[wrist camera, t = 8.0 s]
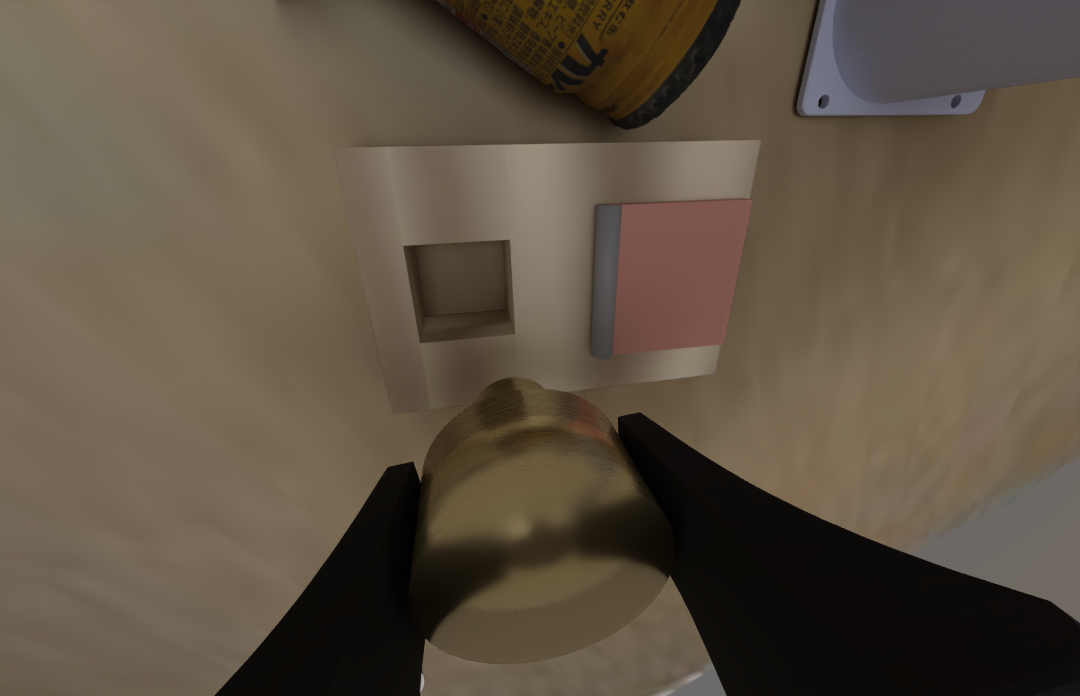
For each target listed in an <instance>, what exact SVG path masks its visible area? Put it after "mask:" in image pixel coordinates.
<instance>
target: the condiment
mask: <svg viewBox="0 0 1080 696" xmlns="http://www.w3.org/2000/svg"><path fill="white" fill-rule="evenodd" d="M435 1H437V2H438V3H439V4H441V5H442V6H443V7H444V8H446V9H447V10H449V11H450V12H451V13H452V14H453V15H454V16H456V17H457V18H459V19H460V20H461V21H463V22H464V23H465V24H466V25H468V26H469V27H470V28H471V29H473V30H474V31H475V32H476V33H478V34H479V35H481V36H482V37H483V38H484V39H486V40H487V41H488V42H490V43H491V44H492V45H494V46H495V47H496V48H497V49H499V50H500V51H501V52H502V53H503V54H504V55H505V56H506V57H507V58H509V59H511V60H513V61H514V62H515V63H516V64H518V65H519V66H521V67H522V68H523V69H524V70H526V71H527V72H528V73H530V74H531V75H532V76H533V77H535V78H536V79H537V80H539V81H540V82H541V83H543V84H544V85H545V86H547V87H548V88H550V89H551V90H552V91H555V92H556V93H567V92H568V93H574V94H575V95H576V96H577V97H578V98H579V99H580V100H581V101H583V102H584V103H585V104H587V105H588V106H589V107H591V108H592V109H595V110H602V111H603V112H604V113H605V114H606V115H608V116H609V120H610V121H611V122H612V123H613V124H614V125H615V126H619V127H620V128H623V129H626V130H628V129H634V128H638V127H640V126H643V125H645V124H647V123H649V121H651V120H652V119H654V118H656V117H658V116H659V115H661V114H662V112H663V111H664V110H665V109H666V108H667V107H668V106H669V105H670V104H672V103H673V102H674V101H675V100H676V99H678V98H679V96H680V95H681V94H682V93H683V92H684V91H685V90H686V89H687V87H688V86H689V85H690V84H691V83H692V82H693V81H694V80H695V79H696V77H697V76H698V75H699V74H700V72H701V71H702V70H703V68H704V67H705V66H706V64H707V63H708V61H709V60H710V59H711V57H712V56H713V54H714V52H715V51H716V50H717V48H718V47H719V45H720V43H721V41H722V40H723V38H724V36H725V35H726V32H727V30H728V28H729V26H730V23H731V22H732V20H733V19H734V16H735V13H736V11H737V9H738V7H739V5H740V2H741V0H435Z"/></svg>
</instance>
